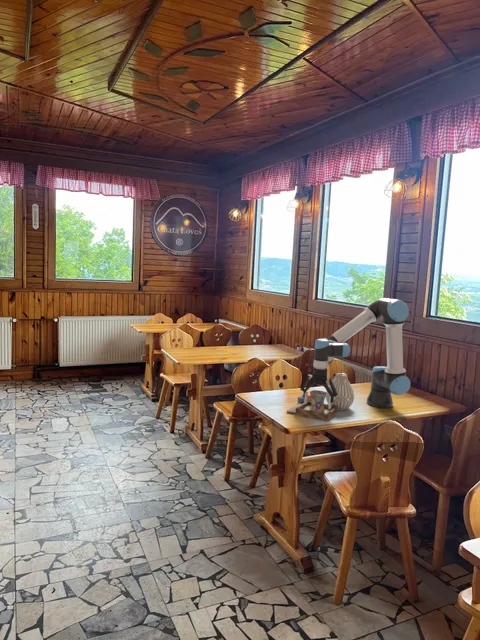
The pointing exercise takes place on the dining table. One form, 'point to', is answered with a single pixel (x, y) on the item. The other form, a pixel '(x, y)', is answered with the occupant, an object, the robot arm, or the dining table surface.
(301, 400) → the button box
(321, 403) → the mug
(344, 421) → the dining table surface
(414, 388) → the dining table surface
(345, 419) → the dining table surface
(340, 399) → the vase
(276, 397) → the dining table surface
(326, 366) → the robot arm
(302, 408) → the wooden tray
